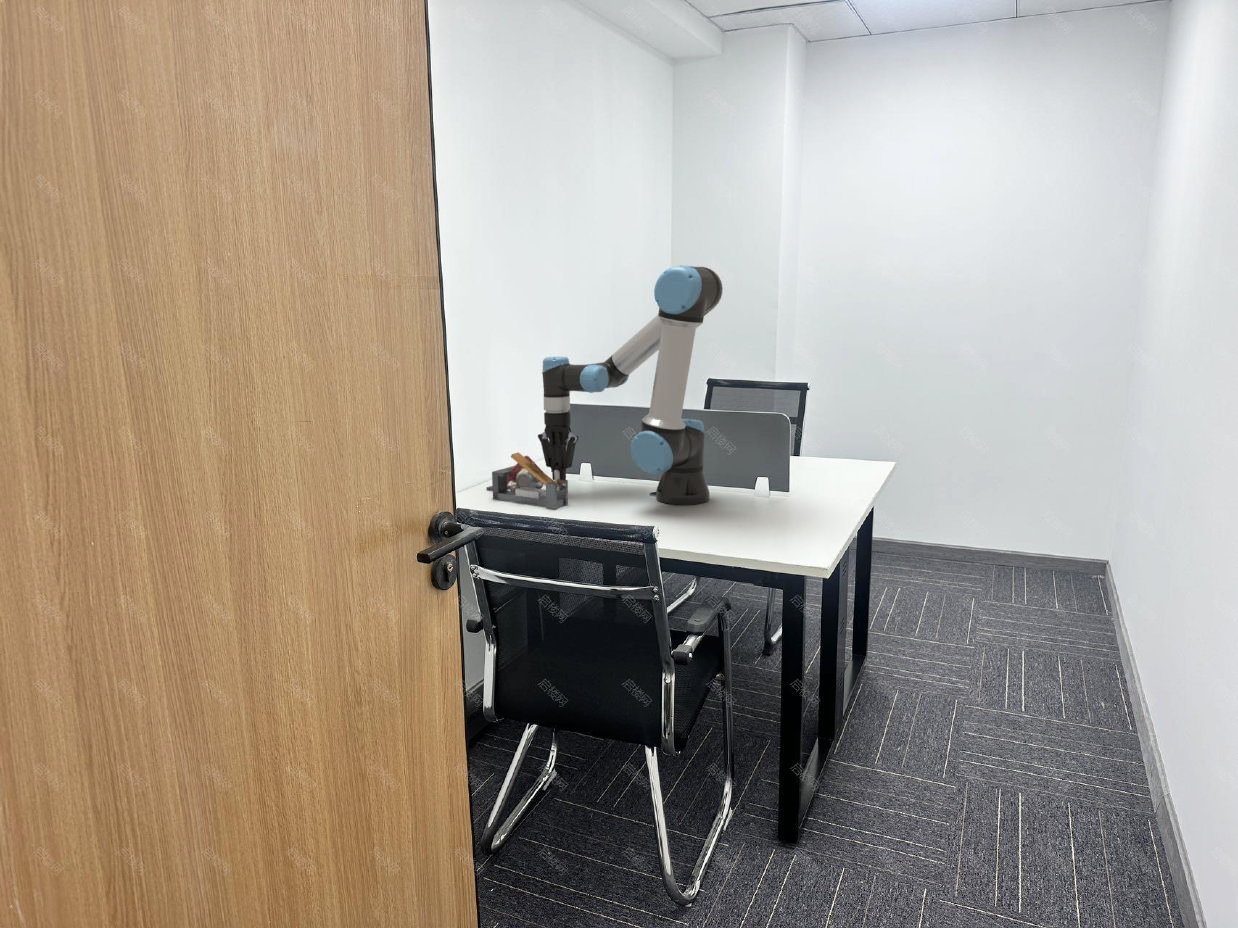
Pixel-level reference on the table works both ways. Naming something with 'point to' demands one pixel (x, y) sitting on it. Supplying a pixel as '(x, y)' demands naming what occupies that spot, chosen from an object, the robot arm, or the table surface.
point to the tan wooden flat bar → (534, 470)
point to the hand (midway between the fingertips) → (559, 491)
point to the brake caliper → (523, 477)
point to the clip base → (545, 501)
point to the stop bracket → (507, 478)
